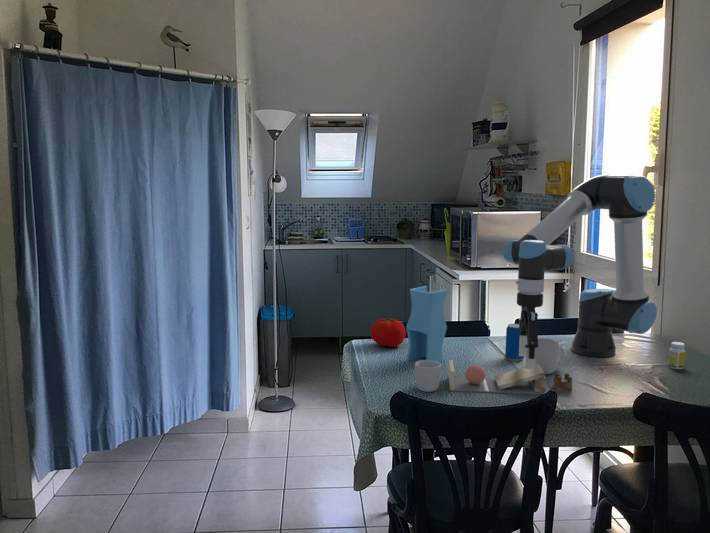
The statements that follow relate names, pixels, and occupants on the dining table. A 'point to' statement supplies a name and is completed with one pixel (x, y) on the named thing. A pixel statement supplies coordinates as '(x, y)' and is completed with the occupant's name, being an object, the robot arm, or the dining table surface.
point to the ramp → (523, 378)
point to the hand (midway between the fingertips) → (526, 362)
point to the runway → (488, 385)
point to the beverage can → (513, 343)
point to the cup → (427, 375)
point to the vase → (426, 324)
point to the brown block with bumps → (562, 382)
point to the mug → (548, 354)
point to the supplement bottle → (676, 355)
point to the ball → (475, 374)
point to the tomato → (388, 332)
